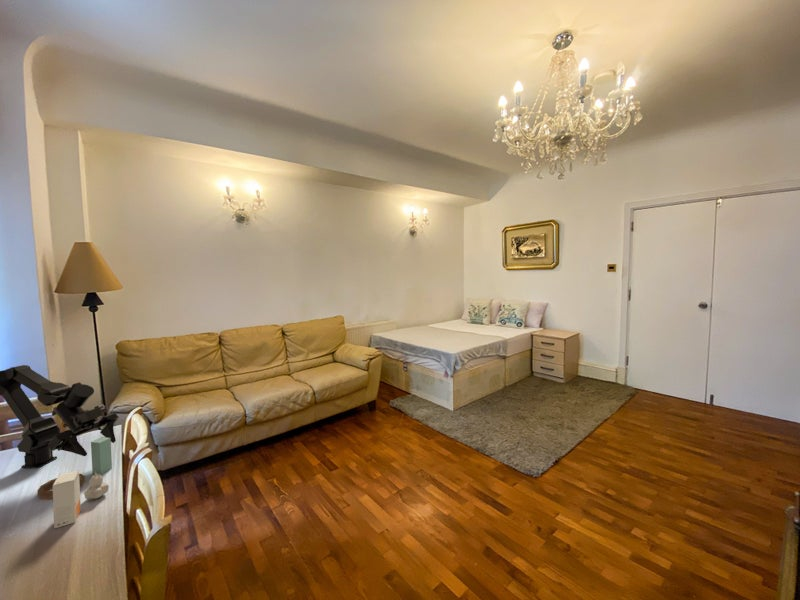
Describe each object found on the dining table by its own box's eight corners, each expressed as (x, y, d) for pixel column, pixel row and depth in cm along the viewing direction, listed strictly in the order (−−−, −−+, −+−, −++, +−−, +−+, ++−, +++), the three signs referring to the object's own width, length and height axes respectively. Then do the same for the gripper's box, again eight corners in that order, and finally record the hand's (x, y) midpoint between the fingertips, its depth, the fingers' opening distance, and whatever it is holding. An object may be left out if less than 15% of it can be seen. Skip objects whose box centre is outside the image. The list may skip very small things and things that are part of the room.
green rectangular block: (92, 473, 113) (90, 441, 112) (103, 467, 116) (102, 437, 116) (101, 474, 112) (99, 442, 111) (111, 468, 115) (110, 437, 115)
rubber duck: (107, 489, 104) (106, 464, 103) (110, 498, 99) (109, 472, 99) (83, 497, 100) (82, 472, 99) (85, 507, 95) (84, 480, 95)
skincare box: (76, 522, 89) (73, 480, 89) (54, 529, 87) (51, 485, 86) (81, 509, 94) (79, 469, 94) (60, 515, 92) (58, 474, 91)
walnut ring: (61, 479, 109) (60, 474, 109) (92, 479, 109) (92, 473, 109) (28, 499, 99) (28, 493, 99) (62, 498, 99) (62, 492, 99)
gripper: (53, 410, 105) (82, 447, 103) (113, 391, 123) (139, 422, 122) (35, 432, 106) (64, 468, 105) (97, 410, 125) (123, 441, 123)
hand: (100, 448), depth 114 cm, fingers open, 9 cm apart
